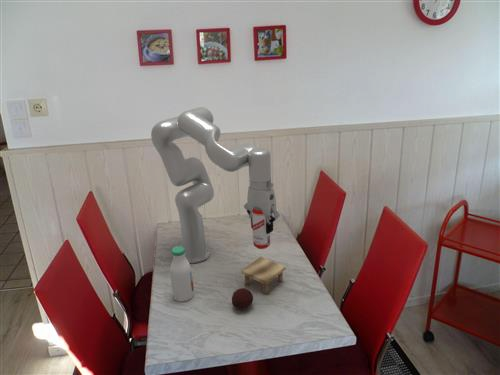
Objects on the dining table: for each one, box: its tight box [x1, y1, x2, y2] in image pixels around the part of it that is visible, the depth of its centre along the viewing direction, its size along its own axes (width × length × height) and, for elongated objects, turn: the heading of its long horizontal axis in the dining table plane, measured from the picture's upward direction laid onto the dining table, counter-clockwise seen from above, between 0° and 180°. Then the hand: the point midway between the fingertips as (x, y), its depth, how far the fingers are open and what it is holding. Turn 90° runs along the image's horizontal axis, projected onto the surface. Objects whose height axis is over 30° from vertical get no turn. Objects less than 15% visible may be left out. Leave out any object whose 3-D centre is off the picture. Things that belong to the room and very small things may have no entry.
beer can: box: [252, 207, 271, 250], centre depth 148 cm, size 6×6×16 cm
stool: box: [240, 256, 286, 295], centre depth 156 cm, size 12×12×6 cm
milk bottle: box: [169, 245, 195, 303], centre depth 149 cm, size 8×8×20 cm
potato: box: [231, 287, 254, 310], centre depth 144 cm, size 7×8×7 cm
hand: (262, 229), depth 149 cm, fingers closed on beer can, 6 cm apart
